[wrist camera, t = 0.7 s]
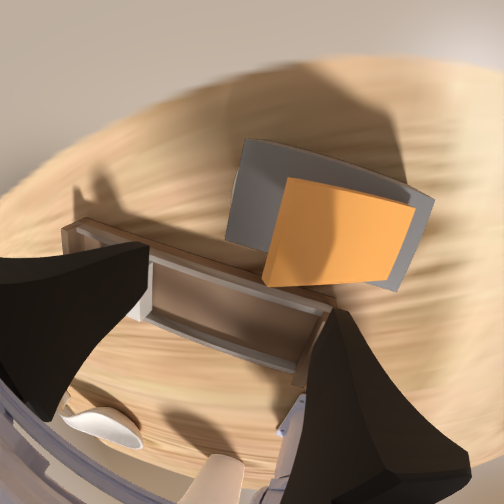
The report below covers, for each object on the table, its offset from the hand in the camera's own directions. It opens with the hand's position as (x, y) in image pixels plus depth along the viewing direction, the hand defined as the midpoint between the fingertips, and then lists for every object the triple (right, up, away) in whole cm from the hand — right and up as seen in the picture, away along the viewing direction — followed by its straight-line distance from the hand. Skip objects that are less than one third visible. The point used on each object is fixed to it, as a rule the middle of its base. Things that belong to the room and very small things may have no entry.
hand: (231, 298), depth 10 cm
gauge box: (+6, +5, +8) cm, 11 cm away
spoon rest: (-29, -29, +32) cm, 52 cm away
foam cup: (-3, -34, +27) cm, 43 cm away
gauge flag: (+5, +2, +1) cm, 5 cm away
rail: (-5, -1, +13) cm, 14 cm away
